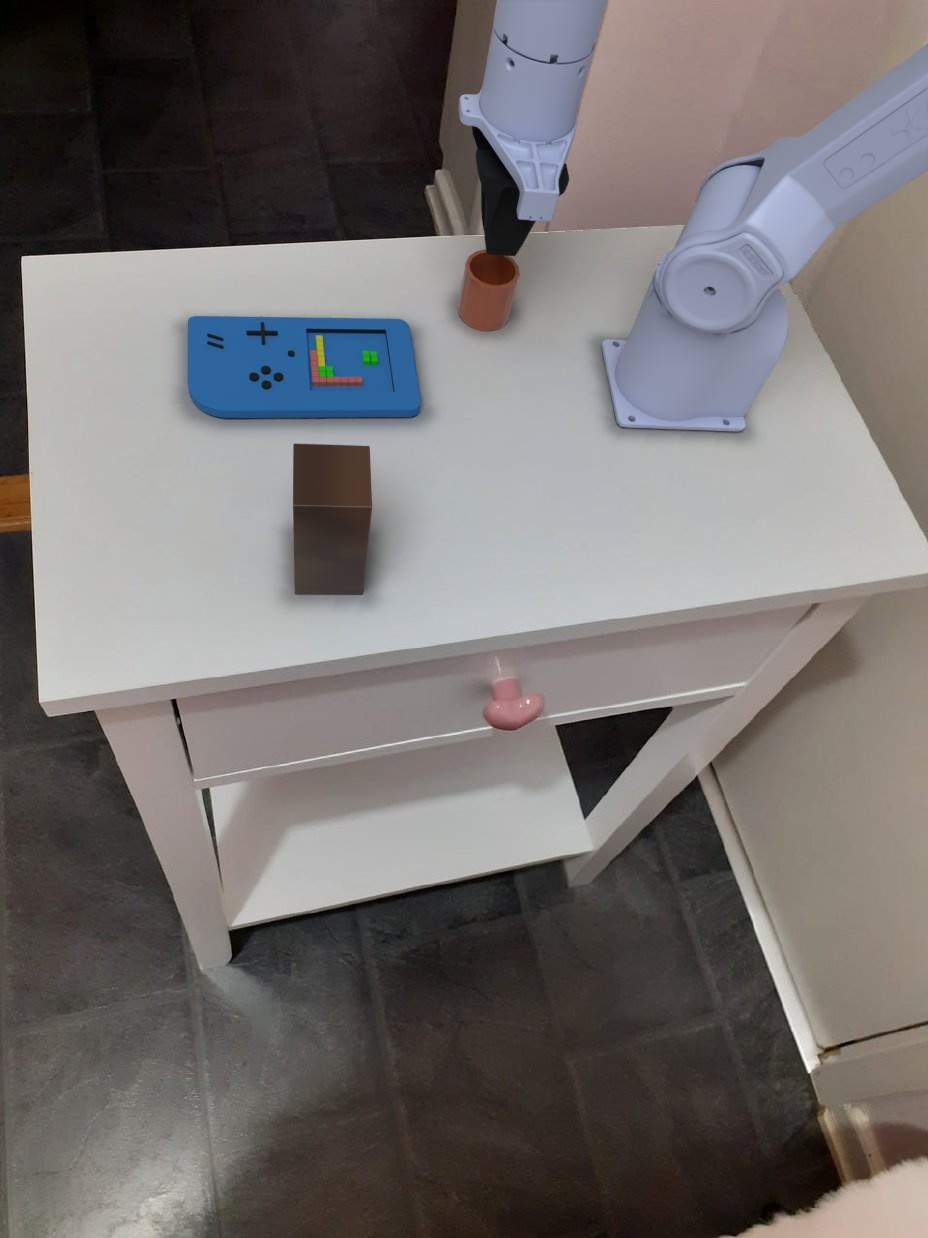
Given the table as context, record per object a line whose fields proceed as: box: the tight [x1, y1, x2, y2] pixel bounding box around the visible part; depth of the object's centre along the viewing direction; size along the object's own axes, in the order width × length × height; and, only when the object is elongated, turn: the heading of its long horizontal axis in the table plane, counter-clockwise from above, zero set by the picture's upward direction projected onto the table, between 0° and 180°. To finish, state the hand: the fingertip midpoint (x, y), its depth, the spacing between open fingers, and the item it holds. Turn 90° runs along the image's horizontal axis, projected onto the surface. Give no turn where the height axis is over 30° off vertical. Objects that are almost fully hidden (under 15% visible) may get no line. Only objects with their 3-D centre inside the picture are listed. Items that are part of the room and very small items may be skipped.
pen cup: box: [457, 249, 521, 332], centre depth 66 cm, size 4×4×4 cm
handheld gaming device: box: [187, 315, 422, 419], centre depth 62 cm, size 8×1×15 cm
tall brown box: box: [292, 443, 373, 596], centre depth 52 cm, size 4×4×9 cm
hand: (499, 240), depth 62 cm, fingers closed
